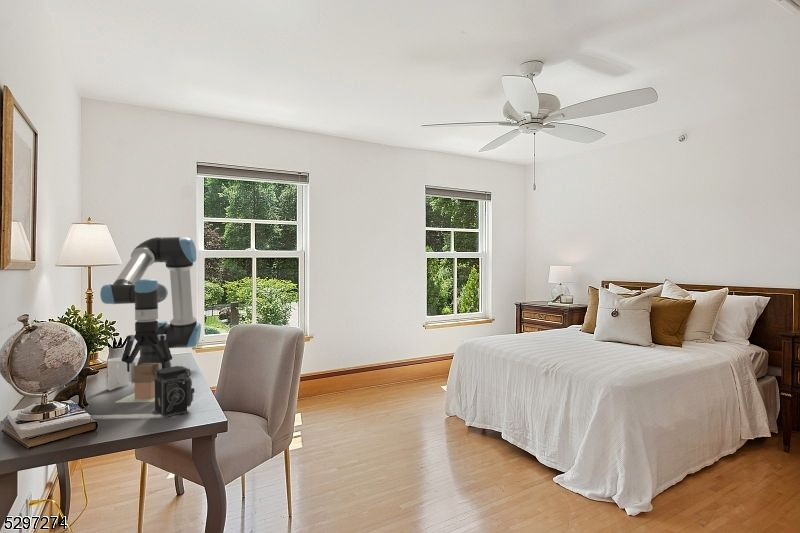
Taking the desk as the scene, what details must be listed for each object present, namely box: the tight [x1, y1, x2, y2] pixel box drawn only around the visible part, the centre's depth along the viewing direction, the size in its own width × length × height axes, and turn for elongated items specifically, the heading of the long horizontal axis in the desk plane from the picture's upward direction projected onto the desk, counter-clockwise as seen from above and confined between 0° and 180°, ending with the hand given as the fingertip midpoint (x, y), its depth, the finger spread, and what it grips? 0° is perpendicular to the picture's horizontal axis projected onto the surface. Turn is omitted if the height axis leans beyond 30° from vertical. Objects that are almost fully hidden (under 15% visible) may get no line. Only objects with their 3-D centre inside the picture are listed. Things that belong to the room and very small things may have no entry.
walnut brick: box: [133, 363, 159, 384], centre depth 169 cm, size 6×6×6 cm
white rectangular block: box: [106, 356, 132, 391], centre depth 186 cm, size 12×8×12 cm
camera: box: [154, 365, 195, 418], centre depth 154 cm, size 10×10×15 cm
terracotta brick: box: [134, 381, 155, 399], centre depth 169 cm, size 6×6×6 cm
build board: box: [114, 392, 155, 404], centre depth 169 cm, size 14×16×1 cm
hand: (147, 380), depth 169 cm, fingers open, 10 cm apart
